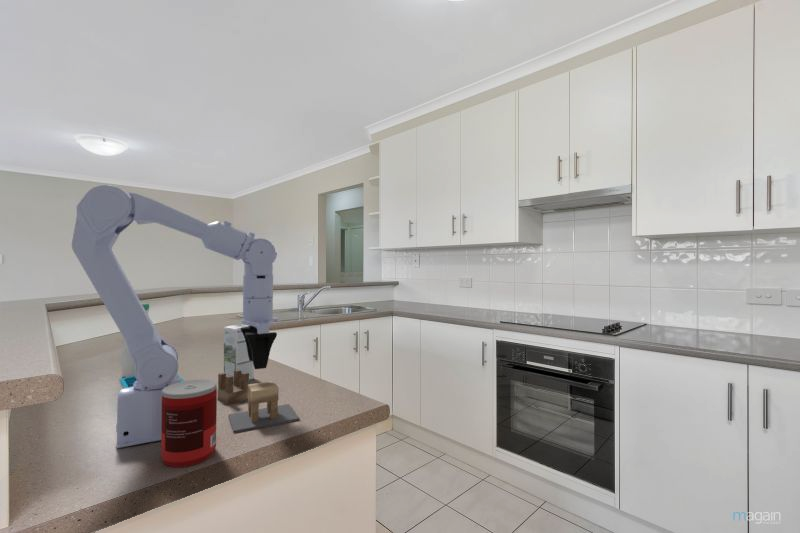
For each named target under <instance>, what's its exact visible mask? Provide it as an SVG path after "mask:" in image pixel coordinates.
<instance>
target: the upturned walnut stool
mask: <svg viewBox="0 0 800 533" xmlns="http://www.w3.org/2000/svg"><path fill="white" fill-rule="evenodd" d="M217 378H218V379H217V380H218V381H217V386H218V387H217V401H219V402H222V403H223V404H225V405H231V404H236V403H239V402H243V401H248V384H249V383H250V382H249V381H250V380H249V373H247V372H245V373H241V370H234V382H233V376H226V373H224V372H221V373H218V377H217Z"/></svg>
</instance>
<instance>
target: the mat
mask: <svg viewBox="0 0 800 533" xmlns="http://www.w3.org/2000/svg"><path fill="white" fill-rule="evenodd" d="M227 415H228V419H229V420H228V421H229V422H230V426H231V430H232V433H234V434H235V433H240V432H245V431H246V432H247V431H250V430H251V431H252V430H257V429H261V428H265V427H272V426H277V425H281V424H286V423H292V422H296V421H301V419H300V416H299V414H297V413H296V411H295V410H294V409H293V407H292V406H291V405H290V404H289V403H287V404H285V403H284V404H280V405H279V404H278V418H275V419H271V418H270V413H268V412H267V407H263V408H262V407H261V408H259V410H258V422H253V423H252V422H251V416H249V415H248V410H244V411H240V412H235V413H229V414H227Z"/></svg>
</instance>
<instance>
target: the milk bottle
mask: <svg viewBox="0 0 800 533" xmlns="http://www.w3.org/2000/svg"><path fill="white" fill-rule="evenodd" d="M141 303H142V302H141ZM142 305H143V307H144V309H145V311H146V312H147V314H148V316H149V317H150V315H149V311H150V304H149V303H146V302H143V303H142ZM121 340H122V343H121V348H122V349H121V376H122V378H126V377H132V376H135V363H134V360H133V359H132V357H131V355H130V352H129V349H128V345H127V342H126V340H125V339H124V337H123V336H122V338H121Z"/></svg>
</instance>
